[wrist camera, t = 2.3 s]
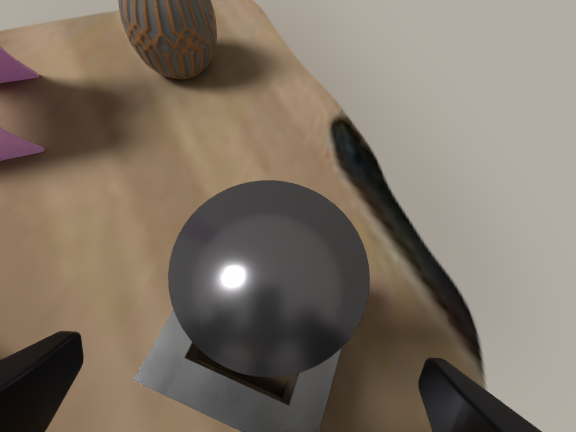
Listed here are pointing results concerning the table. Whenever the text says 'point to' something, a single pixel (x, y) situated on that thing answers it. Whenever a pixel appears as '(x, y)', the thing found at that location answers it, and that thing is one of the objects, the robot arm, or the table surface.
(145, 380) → the socket block
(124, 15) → the vase
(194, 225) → the silver and grey cylinder
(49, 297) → the table surface
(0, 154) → the toy chair
